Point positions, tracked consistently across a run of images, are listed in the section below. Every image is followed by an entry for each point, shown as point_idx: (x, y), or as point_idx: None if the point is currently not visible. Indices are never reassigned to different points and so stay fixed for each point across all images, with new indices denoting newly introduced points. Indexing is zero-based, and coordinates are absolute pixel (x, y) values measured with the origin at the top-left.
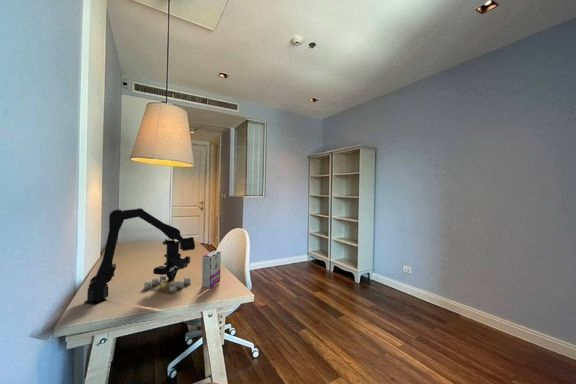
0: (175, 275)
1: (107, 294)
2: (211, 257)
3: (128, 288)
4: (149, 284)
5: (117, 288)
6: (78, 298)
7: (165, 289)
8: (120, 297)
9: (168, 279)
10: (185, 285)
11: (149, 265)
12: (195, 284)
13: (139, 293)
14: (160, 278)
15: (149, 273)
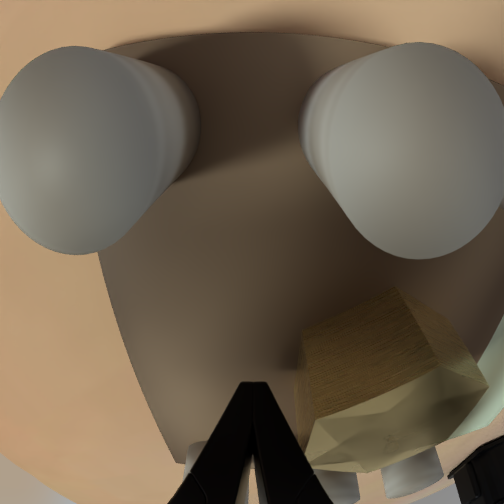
0: (194, 480)
1: (472, 468)
2: None
3: (359, 487)
4: (434, 464)
5: (360, 499)
6: (445, 486)
7: (447, 319)
8: (477, 435)
9: None
10: (202, 112)
11: (87, 501)
12: (48, 48)
13: None
14: (247, 495)
15: (137, 500)
